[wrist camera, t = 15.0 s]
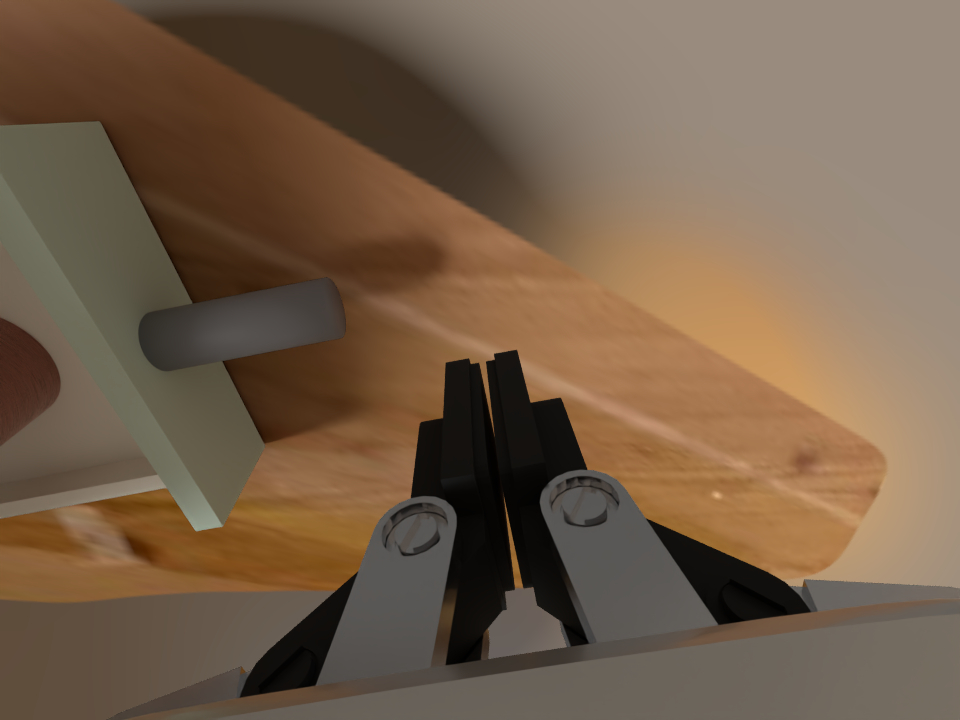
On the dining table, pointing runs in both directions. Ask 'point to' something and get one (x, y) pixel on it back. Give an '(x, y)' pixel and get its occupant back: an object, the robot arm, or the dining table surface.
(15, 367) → the tea tin
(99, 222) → the green drawer
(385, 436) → the dining table surface
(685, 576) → the robot arm
